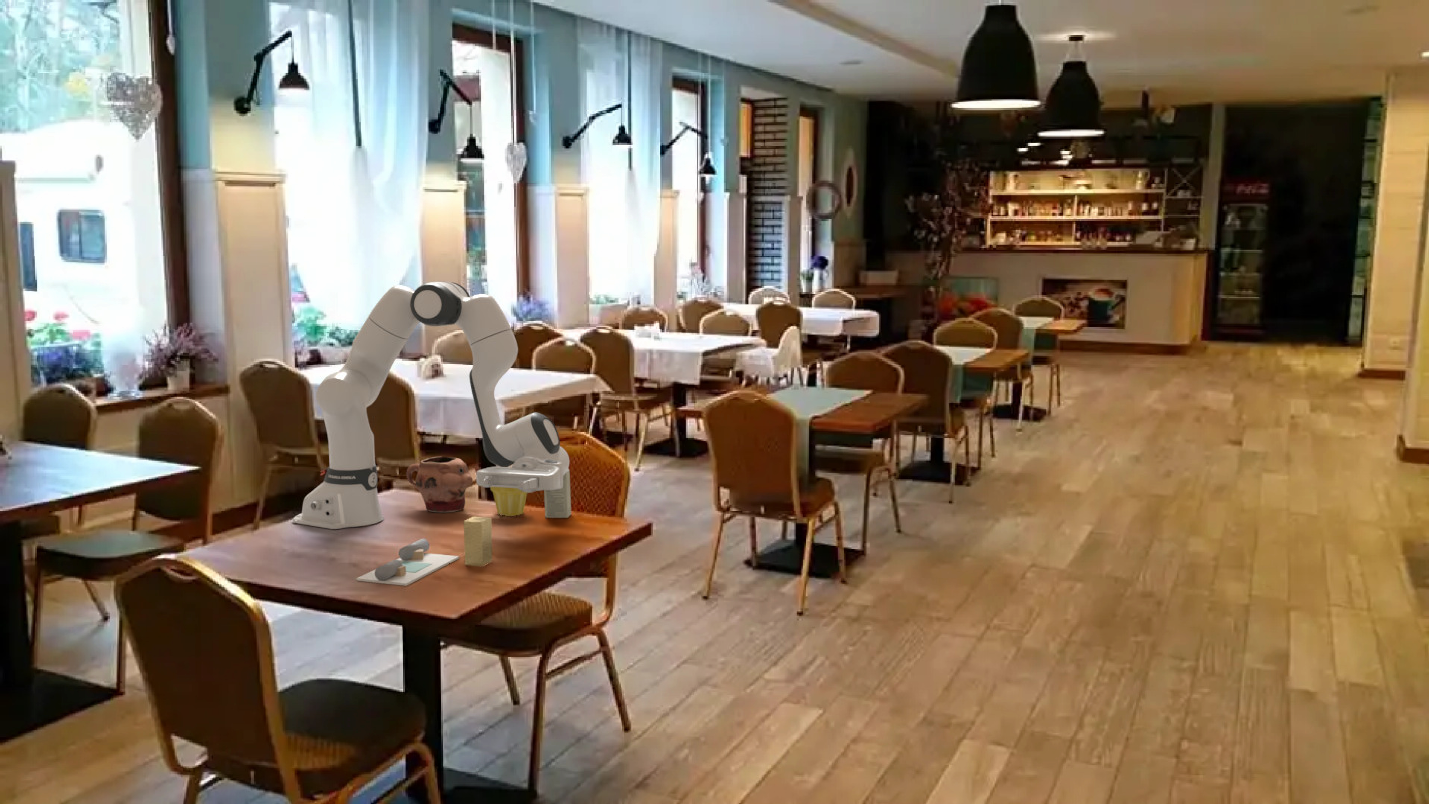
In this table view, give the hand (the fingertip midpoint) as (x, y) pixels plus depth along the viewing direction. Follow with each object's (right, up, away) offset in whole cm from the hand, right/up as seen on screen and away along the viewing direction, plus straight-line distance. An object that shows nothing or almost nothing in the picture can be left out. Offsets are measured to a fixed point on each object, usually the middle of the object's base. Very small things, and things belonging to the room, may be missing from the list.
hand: (503, 484), depth 272 cm
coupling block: (-4, -17, -9) cm, 20 cm away
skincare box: (+8, -11, +35) cm, 37 cm away
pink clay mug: (-25, -10, +42) cm, 49 cm away
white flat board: (-18, -17, -14) cm, 29 cm away
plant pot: (-5, -10, +38) cm, 39 cm away
